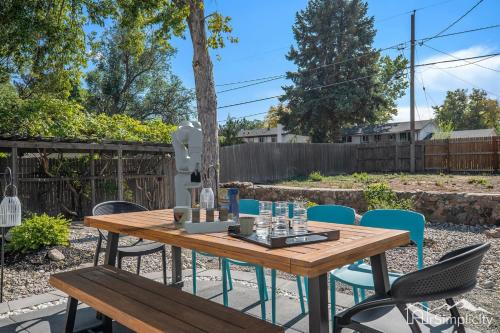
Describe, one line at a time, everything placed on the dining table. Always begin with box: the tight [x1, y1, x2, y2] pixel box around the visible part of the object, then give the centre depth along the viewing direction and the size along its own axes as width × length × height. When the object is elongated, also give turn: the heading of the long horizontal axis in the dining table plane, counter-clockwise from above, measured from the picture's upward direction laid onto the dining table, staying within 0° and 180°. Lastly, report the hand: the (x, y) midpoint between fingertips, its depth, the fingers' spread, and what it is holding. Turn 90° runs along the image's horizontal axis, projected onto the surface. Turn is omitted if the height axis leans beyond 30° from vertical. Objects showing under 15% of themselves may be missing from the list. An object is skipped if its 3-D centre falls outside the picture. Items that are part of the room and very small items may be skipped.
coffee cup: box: [172, 206, 189, 229], centre depth 228 cm, size 9×9×12 cm
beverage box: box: [218, 187, 240, 225], centre depth 240 cm, size 7×11×22 cm, turn 52°
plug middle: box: [205, 207, 215, 222], centre depth 215 cm, size 4×4×8 cm
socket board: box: [184, 219, 237, 235], centre depth 215 cm, size 12×26×5 cm, turn 112°
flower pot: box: [238, 216, 257, 236], centre depth 202 cm, size 9×9×9 cm
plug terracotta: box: [218, 206, 228, 221], centre depth 218 cm, size 4×4×8 cm
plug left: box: [191, 207, 201, 223], centre depth 212 cm, size 4×4×8 cm
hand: (195, 182), depth 212 cm, fingers open, 9 cm apart
